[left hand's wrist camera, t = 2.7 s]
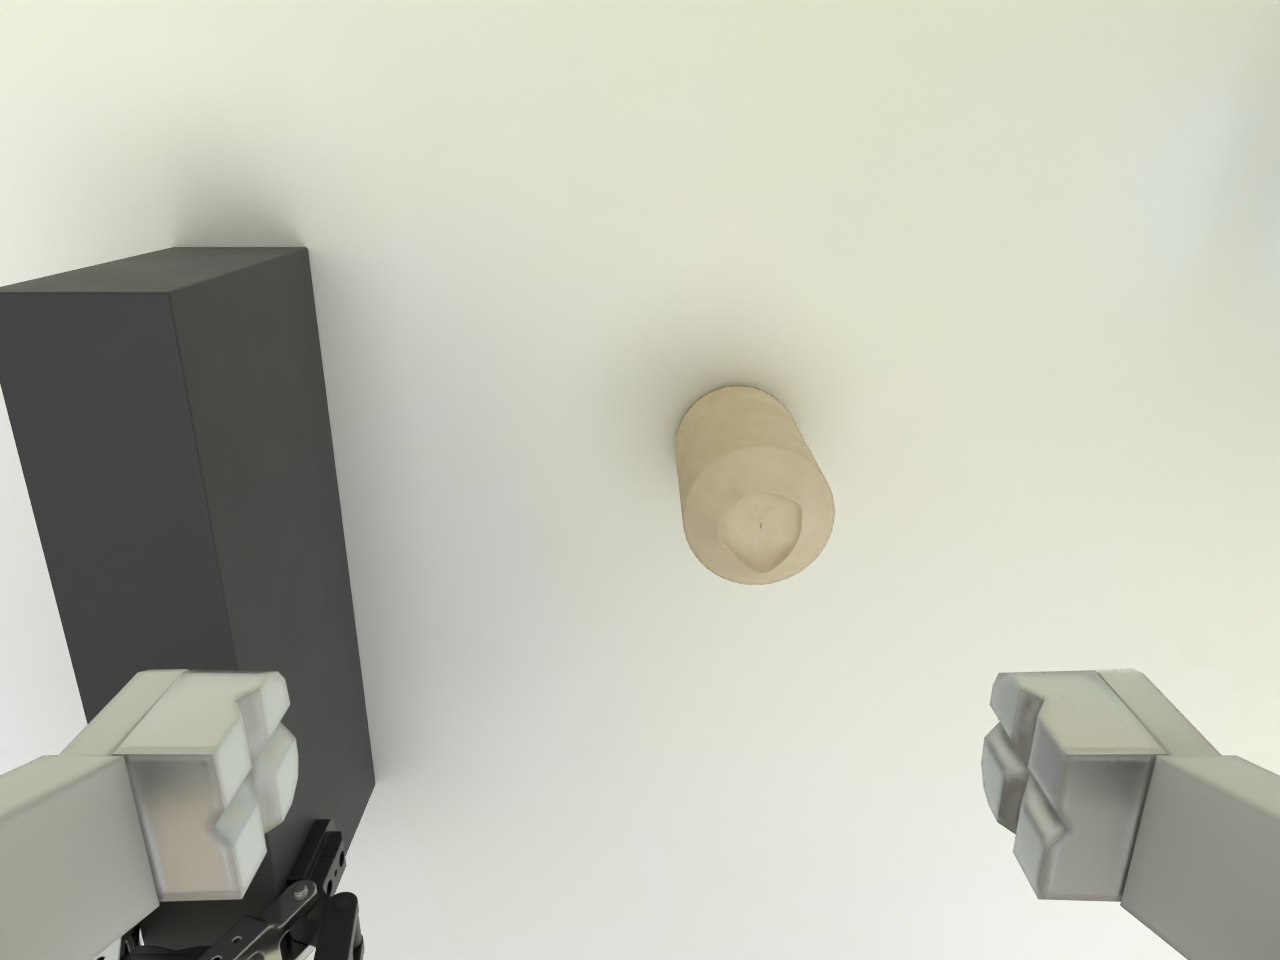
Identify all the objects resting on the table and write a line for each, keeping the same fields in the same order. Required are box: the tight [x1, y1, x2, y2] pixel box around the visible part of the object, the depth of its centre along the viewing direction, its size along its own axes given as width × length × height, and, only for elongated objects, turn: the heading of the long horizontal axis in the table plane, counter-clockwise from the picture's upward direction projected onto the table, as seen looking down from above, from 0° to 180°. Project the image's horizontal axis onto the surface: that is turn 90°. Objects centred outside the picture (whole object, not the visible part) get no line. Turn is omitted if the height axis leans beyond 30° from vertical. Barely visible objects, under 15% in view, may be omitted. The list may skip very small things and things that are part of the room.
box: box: [0, 247, 375, 950], centre depth 37 cm, size 28×6×12 cm, turn 0°
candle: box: [676, 386, 835, 585], centre depth 36 cm, size 6×6×10 cm
